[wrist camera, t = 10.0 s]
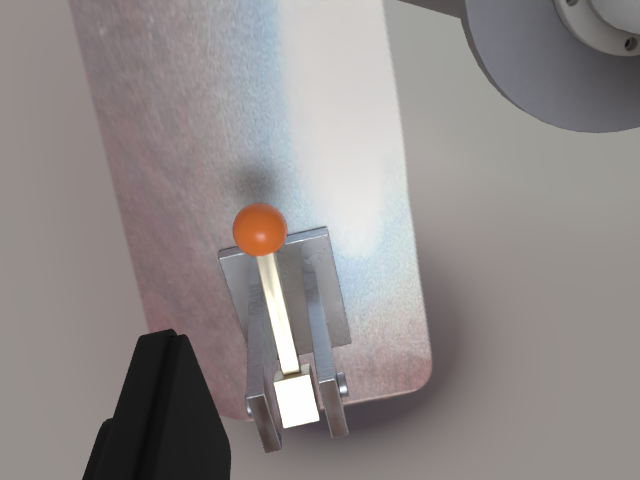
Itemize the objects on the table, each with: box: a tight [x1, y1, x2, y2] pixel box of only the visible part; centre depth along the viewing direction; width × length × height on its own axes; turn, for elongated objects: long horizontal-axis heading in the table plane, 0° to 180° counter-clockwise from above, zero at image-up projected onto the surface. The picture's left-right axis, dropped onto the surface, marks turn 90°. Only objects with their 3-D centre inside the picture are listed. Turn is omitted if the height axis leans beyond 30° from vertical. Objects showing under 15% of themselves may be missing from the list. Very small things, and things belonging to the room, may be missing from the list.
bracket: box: [219, 227, 351, 453], centre depth 37 cm, size 10×8×13 cm
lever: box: [233, 203, 320, 428], centre depth 33 cm, size 13×3×3 cm, turn 10°
